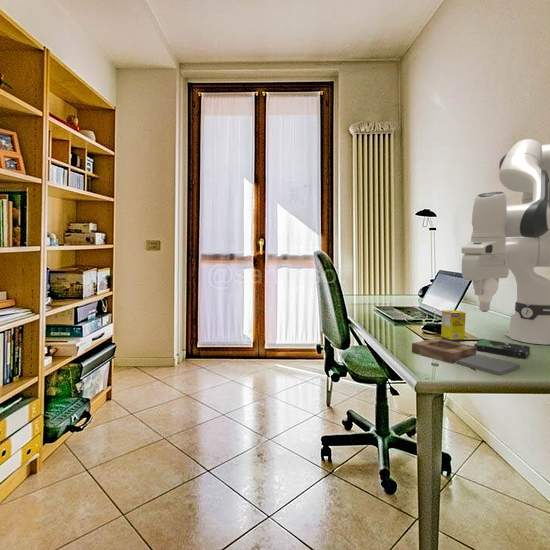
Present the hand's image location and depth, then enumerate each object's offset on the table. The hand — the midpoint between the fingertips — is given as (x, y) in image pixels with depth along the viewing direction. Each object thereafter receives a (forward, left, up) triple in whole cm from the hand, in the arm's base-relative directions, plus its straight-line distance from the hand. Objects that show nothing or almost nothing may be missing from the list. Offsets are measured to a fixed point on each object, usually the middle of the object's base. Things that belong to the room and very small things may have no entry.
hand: (485, 294), depth 107 cm
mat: (0, +2, -21) cm, 21 cm away
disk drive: (-20, -3, -22) cm, 29 cm away
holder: (0, -12, -21) cm, 24 cm away
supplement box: (-21, -21, -21) cm, 37 cm away
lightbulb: (0, 0, -5) cm, 5 cm away
